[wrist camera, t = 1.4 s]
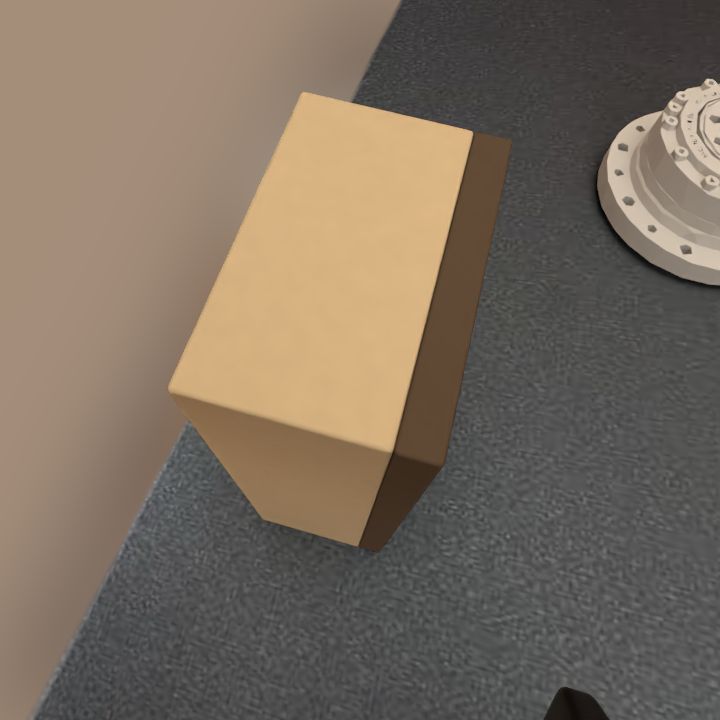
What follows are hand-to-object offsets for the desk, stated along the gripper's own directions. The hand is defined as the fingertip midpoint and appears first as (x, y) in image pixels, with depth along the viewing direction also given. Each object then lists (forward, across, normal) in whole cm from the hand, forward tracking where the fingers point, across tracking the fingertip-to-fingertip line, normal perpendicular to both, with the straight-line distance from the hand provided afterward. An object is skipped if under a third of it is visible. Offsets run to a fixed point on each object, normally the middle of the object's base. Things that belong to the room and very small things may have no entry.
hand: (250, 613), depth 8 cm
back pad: (+13, 0, +4) cm, 14 cm away
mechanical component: (+25, -13, -7) cm, 29 cm away
